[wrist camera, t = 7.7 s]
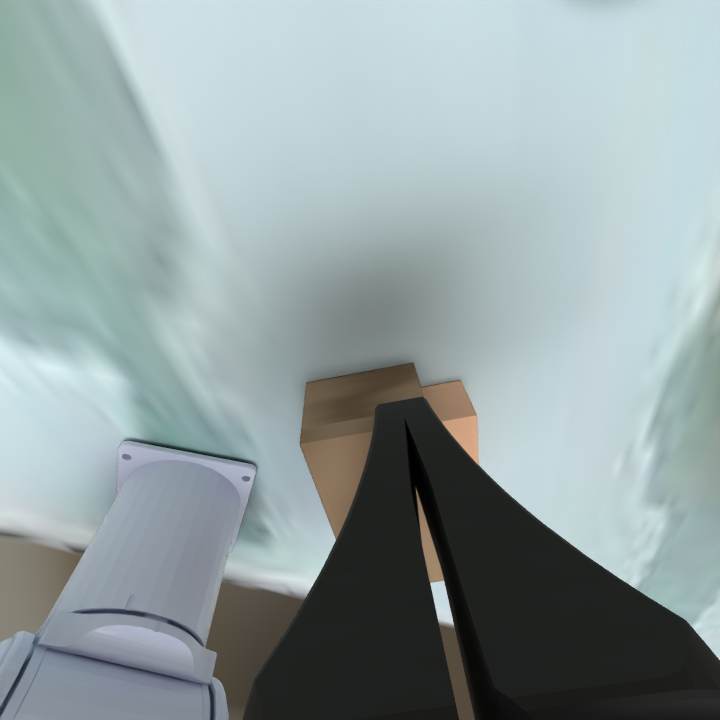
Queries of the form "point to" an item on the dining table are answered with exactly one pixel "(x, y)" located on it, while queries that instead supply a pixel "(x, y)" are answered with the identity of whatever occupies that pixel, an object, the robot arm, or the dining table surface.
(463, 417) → the peach rectangular prism
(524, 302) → the dining table surface
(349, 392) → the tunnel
